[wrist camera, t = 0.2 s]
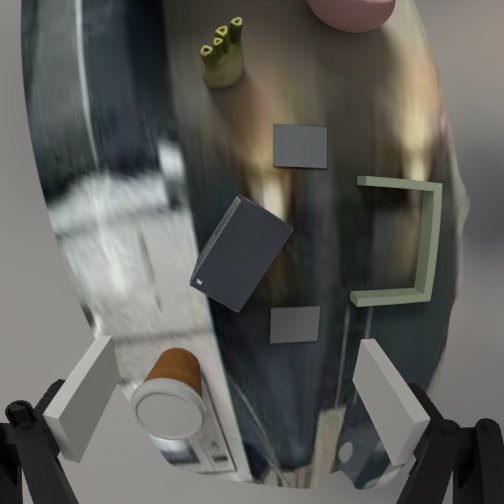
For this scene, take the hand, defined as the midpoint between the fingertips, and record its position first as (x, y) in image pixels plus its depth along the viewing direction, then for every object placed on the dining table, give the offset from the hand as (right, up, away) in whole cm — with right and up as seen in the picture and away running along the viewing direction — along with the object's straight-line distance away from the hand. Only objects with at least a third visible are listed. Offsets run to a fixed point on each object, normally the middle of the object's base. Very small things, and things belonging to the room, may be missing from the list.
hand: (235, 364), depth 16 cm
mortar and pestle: (+13, +41, +20) cm, 47 cm away
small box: (-1, +7, +27) cm, 28 cm away
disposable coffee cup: (-10, -11, +30) cm, 34 cm away
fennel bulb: (-3, +29, +22) cm, 36 cm away
